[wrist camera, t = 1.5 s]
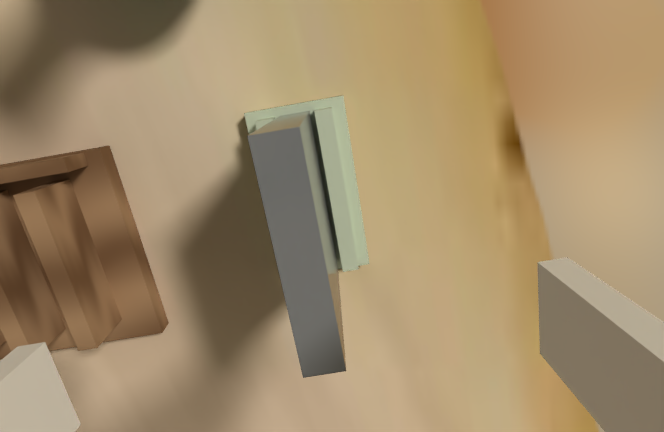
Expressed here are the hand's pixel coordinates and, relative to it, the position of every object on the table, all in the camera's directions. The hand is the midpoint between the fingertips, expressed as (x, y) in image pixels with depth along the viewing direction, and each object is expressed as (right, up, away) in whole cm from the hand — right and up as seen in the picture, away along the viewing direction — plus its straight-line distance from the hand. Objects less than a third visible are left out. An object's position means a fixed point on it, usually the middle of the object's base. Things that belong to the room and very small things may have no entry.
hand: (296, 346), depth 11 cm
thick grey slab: (0, +5, +15) cm, 16 cm away
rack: (-21, 0, +17) cm, 27 cm away
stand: (0, +5, +16) cm, 17 cm away
